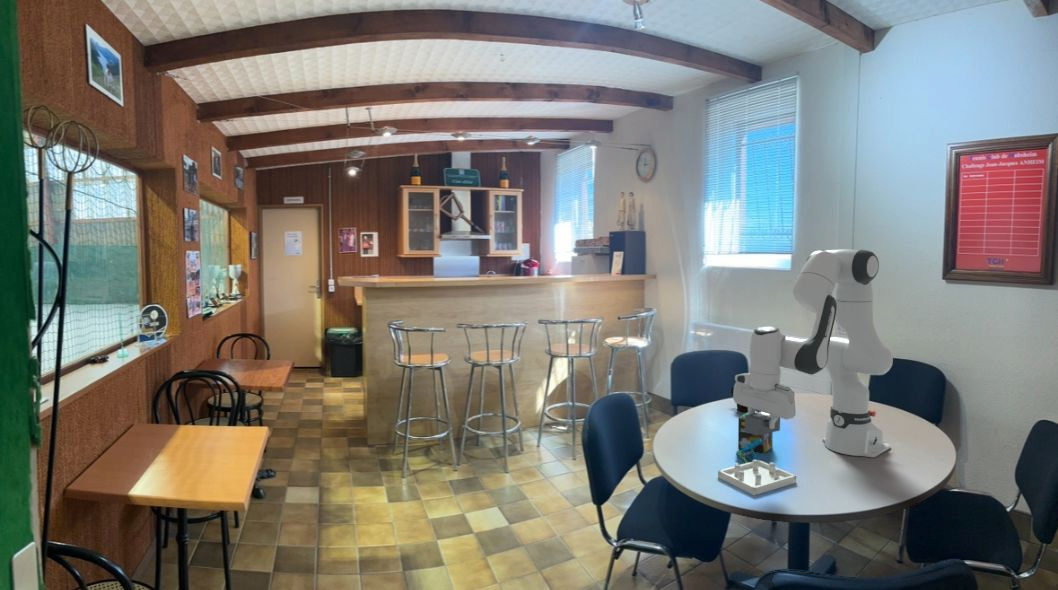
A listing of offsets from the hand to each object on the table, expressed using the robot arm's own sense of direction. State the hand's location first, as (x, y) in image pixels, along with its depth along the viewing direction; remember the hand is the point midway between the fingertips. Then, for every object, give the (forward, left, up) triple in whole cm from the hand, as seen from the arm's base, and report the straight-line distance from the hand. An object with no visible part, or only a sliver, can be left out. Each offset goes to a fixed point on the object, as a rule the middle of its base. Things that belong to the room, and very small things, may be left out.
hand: (762, 425), depth 172 cm
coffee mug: (-53, -54, -18) cm, 77 cm away
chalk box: (-21, -20, -18) cm, 34 cm away
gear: (-11, -14, -18) cm, 25 cm away
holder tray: (0, -1, -18) cm, 18 cm away
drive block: (0, 0, -2) cm, 2 cm away
